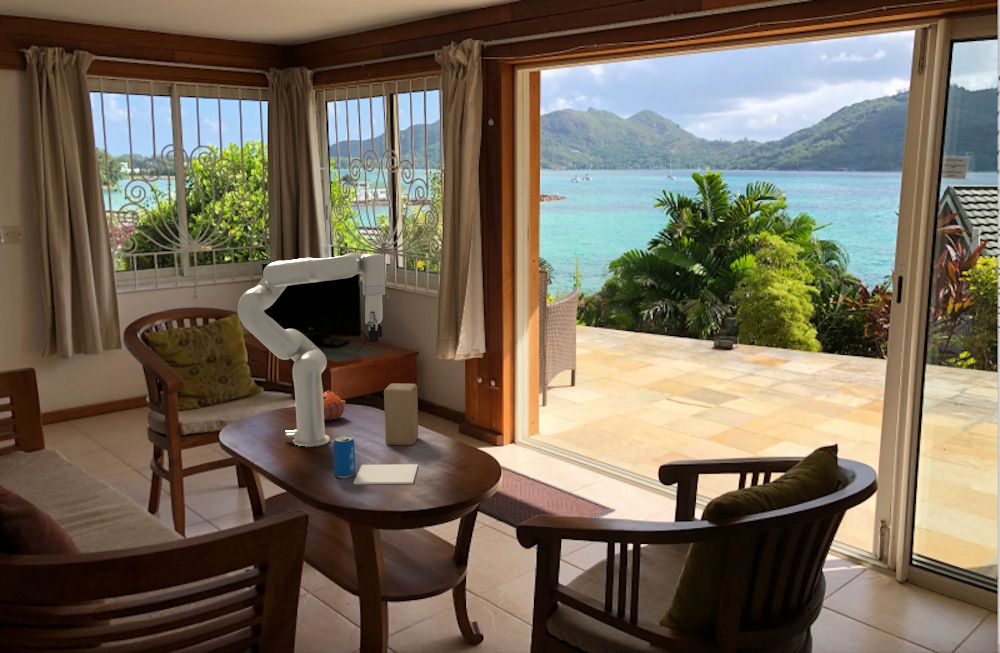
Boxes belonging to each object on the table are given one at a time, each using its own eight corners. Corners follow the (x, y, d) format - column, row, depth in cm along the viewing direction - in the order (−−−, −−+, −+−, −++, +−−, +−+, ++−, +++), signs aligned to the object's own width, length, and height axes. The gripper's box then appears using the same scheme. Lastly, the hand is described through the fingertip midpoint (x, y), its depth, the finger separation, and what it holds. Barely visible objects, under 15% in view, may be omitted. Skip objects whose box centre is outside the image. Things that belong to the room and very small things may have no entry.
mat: (353, 484, 253) (353, 482, 253) (362, 466, 269) (361, 464, 269) (412, 483, 253) (412, 482, 253) (417, 466, 269) (417, 464, 269)
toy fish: (335, 413, 330) (333, 385, 328) (351, 419, 323) (349, 390, 321) (309, 420, 321) (307, 391, 319) (324, 425, 314) (323, 396, 312)
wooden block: (418, 437, 299) (417, 383, 295) (413, 446, 289) (411, 390, 285) (391, 436, 300) (389, 382, 296) (385, 445, 290) (383, 389, 286)
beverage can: (345, 480, 256) (344, 442, 254) (330, 476, 260) (328, 439, 258) (359, 474, 262) (358, 437, 260) (344, 470, 265) (342, 434, 263)
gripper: (366, 287, 293) (368, 334, 296) (359, 293, 276) (360, 344, 279) (388, 286, 293) (389, 334, 296) (381, 293, 276) (383, 344, 279)
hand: (375, 339), depth 288 cm, fingers open, 9 cm apart
